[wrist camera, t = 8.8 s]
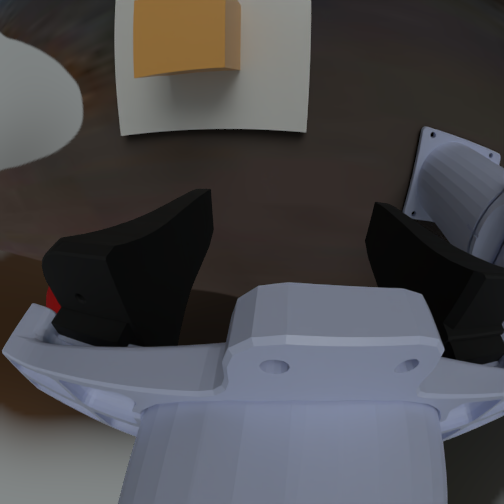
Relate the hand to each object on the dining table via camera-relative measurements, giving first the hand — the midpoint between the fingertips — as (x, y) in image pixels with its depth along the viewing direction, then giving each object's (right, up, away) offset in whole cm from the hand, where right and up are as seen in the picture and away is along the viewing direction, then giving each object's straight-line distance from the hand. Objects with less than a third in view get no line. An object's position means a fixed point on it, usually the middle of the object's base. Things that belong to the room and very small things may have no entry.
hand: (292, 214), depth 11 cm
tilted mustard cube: (-5, +12, +2) cm, 14 cm away
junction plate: (-5, +13, +3) cm, 14 cm away
